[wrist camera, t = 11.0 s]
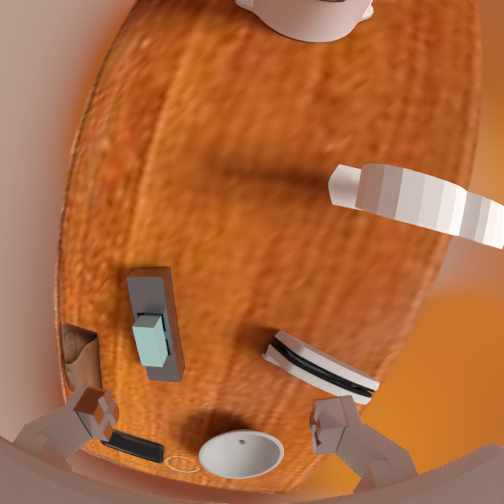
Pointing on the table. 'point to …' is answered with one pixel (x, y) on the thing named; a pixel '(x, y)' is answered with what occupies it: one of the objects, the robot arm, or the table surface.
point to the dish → (241, 454)
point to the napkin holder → (320, 368)
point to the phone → (136, 446)
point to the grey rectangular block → (158, 301)
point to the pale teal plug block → (151, 339)
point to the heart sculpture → (418, 201)
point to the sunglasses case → (81, 356)
